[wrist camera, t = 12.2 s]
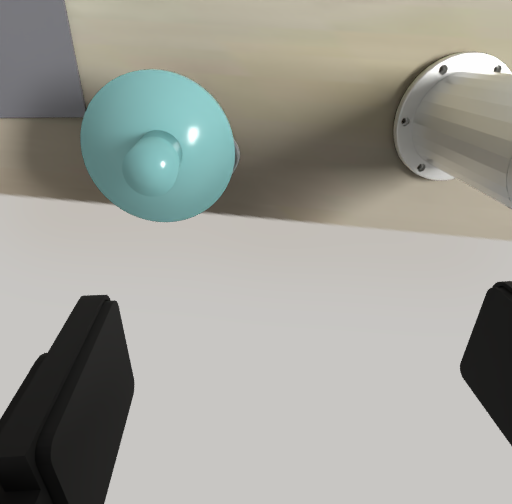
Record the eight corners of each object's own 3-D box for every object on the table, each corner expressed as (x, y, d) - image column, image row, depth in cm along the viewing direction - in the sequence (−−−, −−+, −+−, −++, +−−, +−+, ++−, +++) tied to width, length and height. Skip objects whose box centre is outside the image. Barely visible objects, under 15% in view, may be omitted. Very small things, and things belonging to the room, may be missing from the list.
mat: (56, -39, 30) (54, -40, 30) (87, 116, 36) (86, 117, 36) (-102, -43, 29) (-106, -44, 29) (-44, 117, 35) (-47, 118, 35)
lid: (233, 70, 28) (237, 75, 23) (234, 215, 34) (238, 247, 29) (70, 67, 27) (33, 72, 22) (100, 217, 33) (76, 251, 28)
